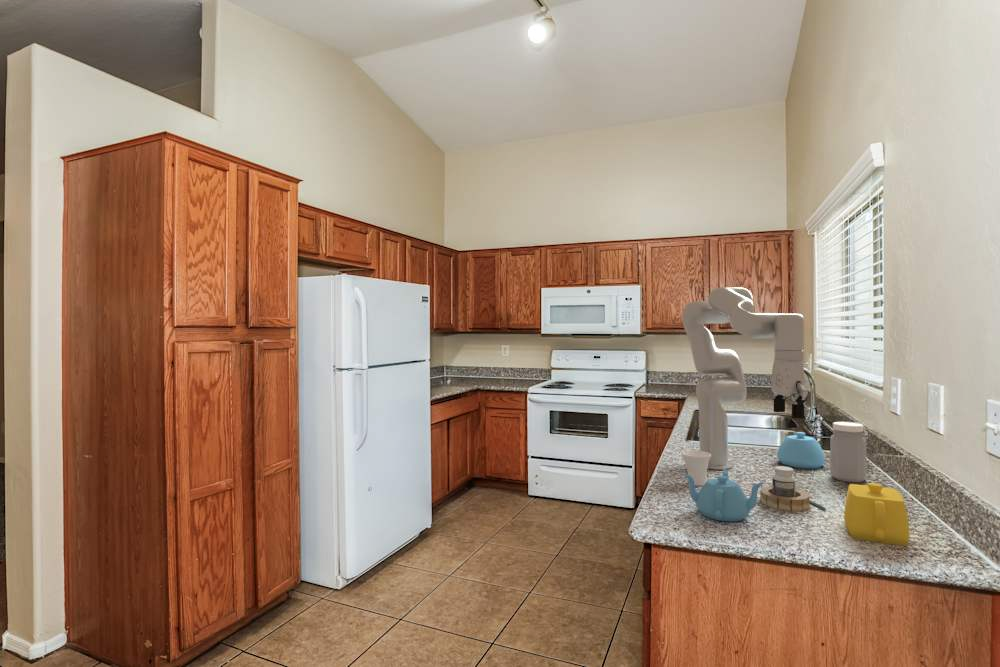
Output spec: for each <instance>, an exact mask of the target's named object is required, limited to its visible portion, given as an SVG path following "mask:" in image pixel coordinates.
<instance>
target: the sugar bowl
mask: <svg viewBox="0 0 1000 667" xmlns="http://www.w3.org/2000/svg"><path fill="white" fill-rule="evenodd" d="M777 450H778V451H777V454H776V455H777V456H776V457H777V459H778V460H779V462H780V463H781V464H783V466H784V465H785V466H786V467H790V468H792V467H793V468H798V469H808V470H809V469H819V468H822V467H823V465H825V463H826V457H825V453H824V450H823V449H822V446H821V445H820V444H819V443H818V441H817V440H816V438H815V437H813V436H807V435H806V433H805V432H803V431H797V432H795V435H794V434H793V435H792V434H791V435H788V436H786V437H785V438H784V439H783V441H782V442H781V444H780V445H779V447H778V449H777Z"/></svg>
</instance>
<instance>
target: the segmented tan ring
mask: <svg viewBox="0 0 1000 667" xmlns="http://www.w3.org/2000/svg"><path fill="white" fill-rule="evenodd" d="M795 491H796V497H782V496H777V495H774V494H773V485H770V486H764V487H761V488H760V493H759V494H760V503H761V504H763V505H765V506H767V507H770V508H774V509H777V510H782V511H790V512H791V511H792V512H796V511H799V512H802V511H805V510H808V509H810V502H809V500H810V494H809V493H808V492H806V491H804V490H801V489H797V488H795Z"/></svg>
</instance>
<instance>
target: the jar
mask: <svg viewBox="0 0 1000 667" xmlns="http://www.w3.org/2000/svg"><path fill="white" fill-rule="evenodd" d="M832 429H833V430H832V433H833V434H831V436H830V438H829V439H830V441H829V442H830V443H829V445H830V446H829V447H830V450H829V452H830V454H829V455H830V456H829V457H830V458H829V460H830V462H829V463H830V467H829V468H830V472H829V473H830V474H831V476H832V477H833V478H834V479H835V480H837V481H838V480H839V481H841V482H847V483H862V482H864V481H865V480H866V479H867V474H868V473H867V439H866V437H864V435H865V434H864V433H863V432H864V429H865V428H864V424H862V423H859V422H852V421H835V422H832Z"/></svg>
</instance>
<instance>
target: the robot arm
mask: <svg viewBox="0 0 1000 667" xmlns="http://www.w3.org/2000/svg"><path fill="white" fill-rule="evenodd" d="M753 301H754V300H753V294H752V292H751V291H750V290H748V289H747V288H745V287H739V286H738V287H737V286H736V287H735V286H734V287H733V286H731V287H730V286H729V287H727V286H725V287H724V286H723V287H722V286H721V287H717V288H714V289H713V290H711V292H710V293H709V294H708V297H707V300H696V301H692V302H689V303H688V304H686V305H685V306H684V309H683V310H682V318H681V320H682V326H683V328H684V331H685V334H686V335H687V338H688V341H689V344H690V349H691V354H692V359H693V363H694V367H695V370H696V372H697V374H699V375H702V376H703V375H704V376H720V375H721V376H722V377H708V378H707V377H706V378H703V379H701V380H699V381H698V382H697V384H696V385H695V395H696V398H697V399H696V400H697V403H698V404H697V405H698V424H699V425H698V426H699V427H698V428H699V431H698V432H699V434H698V435H699V437H698V438H699V444H698V445H699V450H698V451H704V452H708V453H710V454H711V457H710V459H709V462H708V467H707V470H716V471H718V470H719V471H721V470H722V471H723V470H724V469H726V470H730V469H733V465H734V464H733V462H731V461H729V442H728V441H729V429H728V426H729V424H728V423H729V422H728V414H727V413H726V411H725V409H724V408H723V406H722V405H731V404H732V405H733V404H740V403H742V402H744V401H745V400H746V398H747V393H748V392H747V391H748V390H747V384H746V380H745V375H744V371H743V368H742V364H741V361H740V358H739V355H738V354H737V353H736V352H735V351H734V350H733V349H731V348H730V349H728V348H718V347H717V345H716V342H715V337H714V335H713V334H712V333H711V331H710V330H709V329H708V328H707V327H706V326H705V325H717V324H718V325H721V324H722V325H723V324H724V325H725V324H728V323H730V326H731V328H732V329H733V330H734V331H736V332H737V333H739V334H741V335H742V336H743V337H746V338H750V339H773V340H774V342H773V344H774V345H773V346H774V348H773V349H774V350H773V354H774V359H773V365H772V371H771V383H770V385H771V386H770V388H771V389H770V391H771V392H772V398H773V412H774V413H785V412H786V398H785V397H790V398H791V400H792V402H793V403H791V418H792V419H804V418H805V405H806V401H807V398H808V393H809V390H808V388H807V387H806V380H805V379H806V378H805V368H804V362H805V358H804V357H805V351H804V350H805V318H804V316H803V315H802V314H801V313H781V312H780V313H778V312H777V313H776V312H774V313H770V312H767V313H766V312H764V313H763V312H762V313H761V312H759V313H758V312H757V313H754V310H755V306H754V305H755V304H754V303H753Z"/></svg>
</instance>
